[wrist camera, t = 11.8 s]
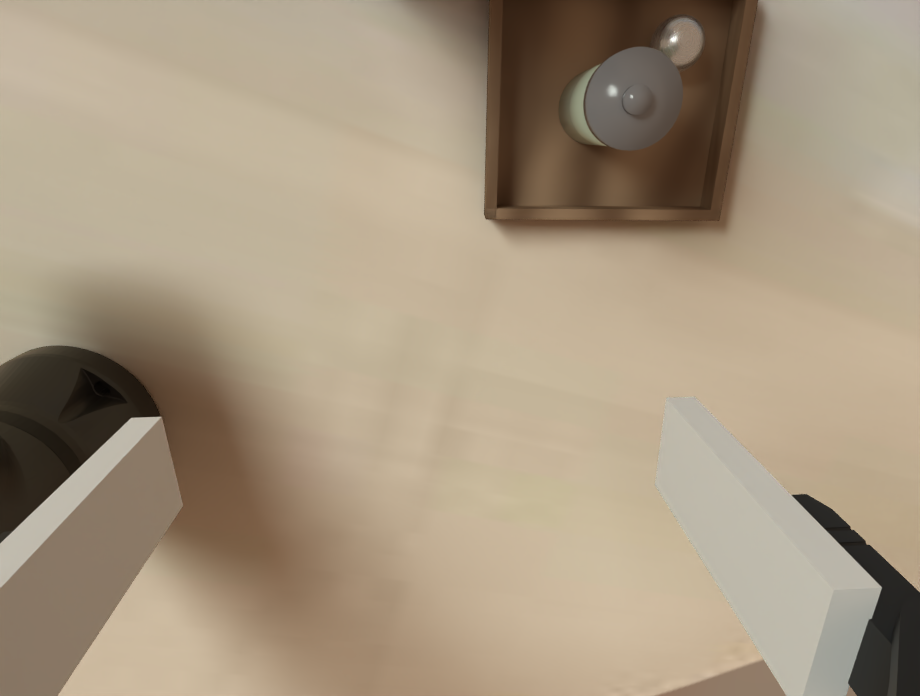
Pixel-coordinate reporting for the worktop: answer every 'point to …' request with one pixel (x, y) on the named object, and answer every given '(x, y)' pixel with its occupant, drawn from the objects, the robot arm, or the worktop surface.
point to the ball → (680, 40)
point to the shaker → (623, 100)
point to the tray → (600, 167)
